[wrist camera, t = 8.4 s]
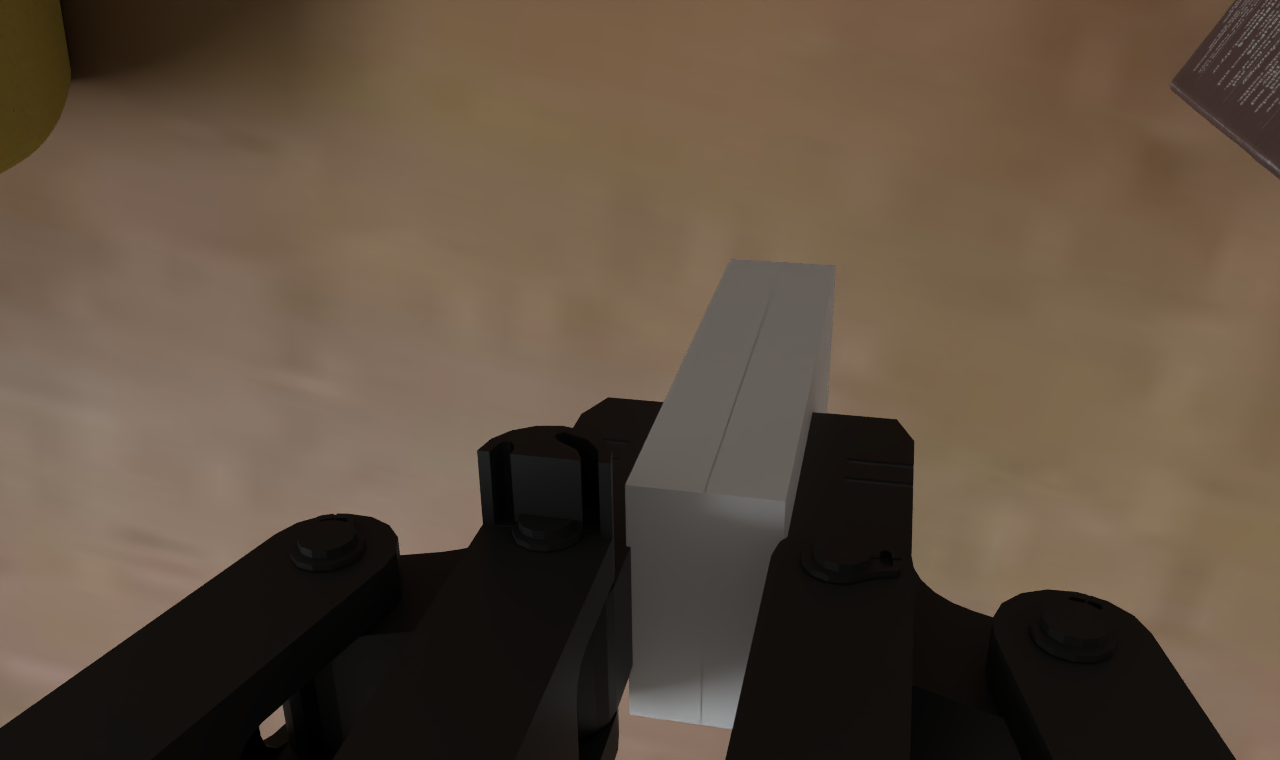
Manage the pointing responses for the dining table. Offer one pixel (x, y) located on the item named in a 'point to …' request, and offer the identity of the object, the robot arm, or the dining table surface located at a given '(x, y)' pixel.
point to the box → (1240, 79)
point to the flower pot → (30, 76)
